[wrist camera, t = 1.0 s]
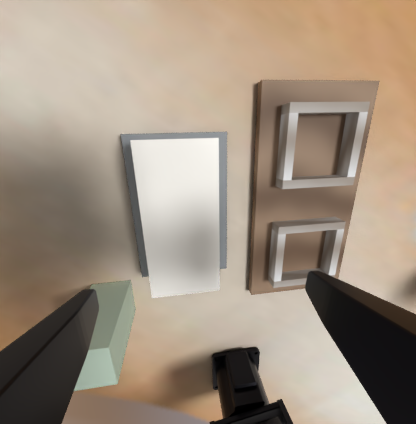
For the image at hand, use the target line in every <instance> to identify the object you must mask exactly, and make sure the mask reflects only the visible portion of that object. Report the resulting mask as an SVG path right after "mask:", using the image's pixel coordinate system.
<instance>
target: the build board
mask: <svg viewBox="0 0 416 424" xmlns="http://www.w3.org/2000/svg"><path fill="white" fill-rule="evenodd" d="M378 85H379V81H335V80H261V81H260V82H259V83H258V94H257V116H256V138H255V160H254V182H253V204H252V226H251V248H250V270H249V291H250V293H251V295H254V294H262V293H270V292H279V291H287V290H295V289H303V288H305V284H306V279H307V275H308V272H309V271H315V270H318V271H321V272H323V273H325V274H328V275H330V276H332V277H334V278H337V279H338V277H339V272H340V267H341V262H342V258H343V253H344V248H345V243H346V239H347V234H348V229H349V224H350V219H351V215H352V210H353V205H354V200H355V195H356V191H357V186H358V181H359V176H360V172H361V167H362V162H363V157H364V152H365V148H366V143H367V138H368V133H369V129H370V124H371V119H372V114H373V109H374V105H375V100H376V95H377V90H378Z"/></svg>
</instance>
